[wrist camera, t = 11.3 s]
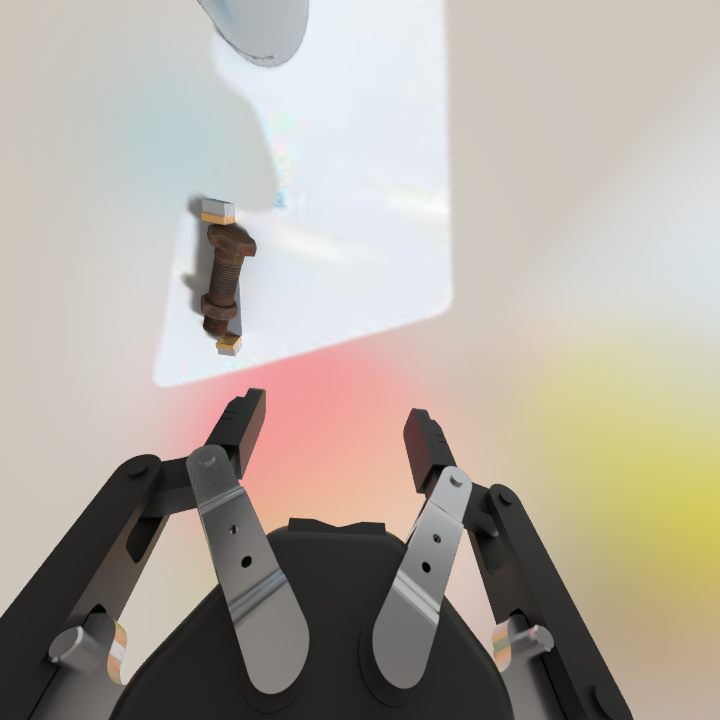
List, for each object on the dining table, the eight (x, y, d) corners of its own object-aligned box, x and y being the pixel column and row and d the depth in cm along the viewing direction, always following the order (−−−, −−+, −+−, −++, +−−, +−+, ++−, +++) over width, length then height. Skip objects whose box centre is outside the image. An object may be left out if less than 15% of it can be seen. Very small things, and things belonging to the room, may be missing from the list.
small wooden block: (225, 333, 42) (215, 343, 39) (240, 335, 42) (232, 345, 39) (226, 344, 43) (217, 355, 40) (241, 347, 43) (233, 357, 40)
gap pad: (213, 219, 33) (212, 219, 33) (236, 223, 33) (235, 223, 33) (224, 332, 41) (223, 333, 41) (241, 335, 42) (241, 336, 42)
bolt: (219, 319, 42) (238, 227, 34) (241, 336, 41) (265, 245, 33) (184, 325, 37) (197, 220, 29) (207, 345, 36) (227, 242, 28)
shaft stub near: (213, 198, 32) (199, 198, 29) (233, 203, 32) (222, 203, 29) (214, 218, 33) (201, 220, 30) (234, 222, 33) (223, 224, 30)
